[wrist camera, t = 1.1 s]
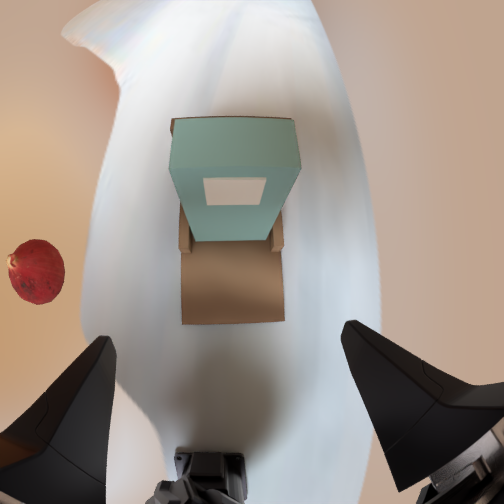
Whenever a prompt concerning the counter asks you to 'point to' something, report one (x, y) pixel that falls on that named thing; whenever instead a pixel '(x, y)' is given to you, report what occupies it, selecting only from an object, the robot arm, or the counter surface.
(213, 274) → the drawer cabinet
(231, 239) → the green rectangular block
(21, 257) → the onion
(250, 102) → the counter surface
